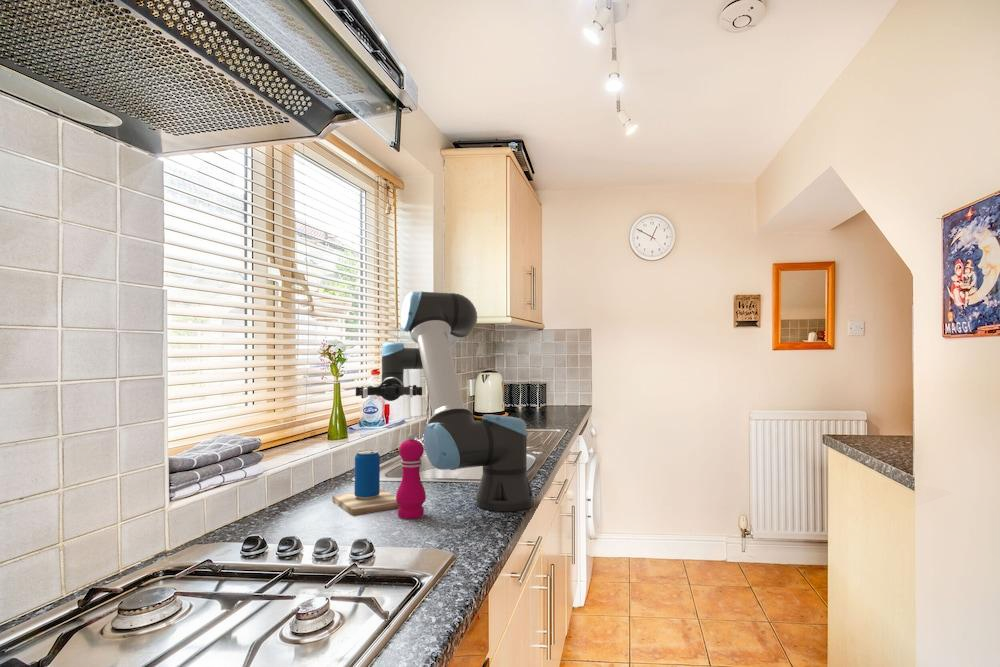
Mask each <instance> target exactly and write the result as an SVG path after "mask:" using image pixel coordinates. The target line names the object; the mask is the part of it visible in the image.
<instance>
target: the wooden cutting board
mask: <svg viewBox="0 0 1000 667" xmlns="http://www.w3.org/2000/svg"><path fill="white" fill-rule="evenodd" d="M333 501H334V502H335V504H336V505H337V504H338V505H337V506H338V507H340V508H341V507H342V508H341V509H343V510H344V511H346V513H348V514H350V515H351V516H356V515H357V516H358V515H361V514H362V515H363V514H368V513H375V512H382V511H387V510H394V509H398V508H399V507H400V505H399V504H398V503H397V501H396V494H393V493H391V492H390V491H387V490H386V489H384V488H380V494H379V495H378V496H377V497H376V498H373V499H367V500H363V499H358V498H357V497H356V496H355V491H354V492H348V493H341V494H339V493H338V494H333V495H332V502H333ZM334 502H333V503H334Z"/></svg>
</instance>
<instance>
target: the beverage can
mask: <svg viewBox="0 0 1000 667" xmlns="http://www.w3.org/2000/svg"><path fill="white" fill-rule="evenodd" d="M380 457H381V456H380V454H379V451H378V450H377V449H376V450H375V449H363V450H358V451H357V452H356V454H355V456H354V492H355V496H356V497H357V498H358V499H363V500H367V499H373V498H376V497H377V496H378V495H379V494H380V489H381V488H380V485H381V484H380V480H381V475H380V474H381V472H380V471H381V469H380V468H381V467H380V466H381V465H380V464H381V458H380Z"/></svg>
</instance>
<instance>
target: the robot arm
mask: <svg viewBox="0 0 1000 667" xmlns="http://www.w3.org/2000/svg"><path fill="white" fill-rule="evenodd" d="M477 323H478V312H477V309H476V307H475V305H474V303H473V302H472V301H471V300H470V299H469V298H468V297H466V296H465V295H462V294H460V293H455V292H453V293H452V292H450V293H449V292H435V291H434V292H432V291H422V290H420V291H410V292H408V293H406V295H405V297H404V300H403V303H402V307H401V312H400V327H401V330H402V331H403V332H407V333H408V332H410V337H411V340H412V341H413V342H414V343H416V344H417V345H418V347H417V348H416V347H405V346H404V343H403V342H384V343H383V344H382V348H381V383H380V384H377V385H376V386H373V385H368V386H361V387H358V386H357V387H355V396H356V397H359V396H361V399H366V398H367V397H368V396H376V397H381V398H382V399H383V400H385V401H388V402H393V401H396V400H397V399H399V398H400V397H402V396H405V395H406V396H409V398H413V396H414V397H416V396H423V387H422V386H417V384H413V385H408V386H405V383H404V372H405V371H404V370H423V374H424V378H425V384H426V390H427V392H428V394H427V395H428V398H429V402H430V410H431V412H432V413H431V414H432V415H431V417H430V418H429V419H428V420H427V422H428V424H427V425H426V426H425V427H424V431H423V440H424V442H423V448H424V451H425V453H426V457H427V459H428V461H429V463H430V465H432V466H433V467H434V468H435V469H436V470H442V471H443V470H446V471H447V470H449V471H454V470H459V469H460V470H461V469H467V468H479V467H482V474H481V477H480V478H481V479H480V481H479V484H478V489H477V492H476V496H475V505H476V506H477V507H479V508H480V509H484V510H487V511H491V512H492V511H493V512H494V511H495V512H514V511H515V512H517V511H523V510H526V509H529V508H531V507H533V505H534V493H533V491H532V487H531V484H530V481H529V478H528V474H527V473H528V472H527V471H528V470H527V463H528V462H527V455H528V454H527V453H528V450H527V442H528V441H527V438H528V433H527V432H528V431H527V424H526V421H525V420H524V419H523V418H519V417H514V416H509V415H499V414H491V413H490V414H487V413H484V414H483V415H482V418H481V419H482V420H475V419H474V416H473V412H472V410H470V409H469V408H466V407H465V403H464V400H463V395H462V391H461V388H460V382H459V378H458V375H457V371H456V367H455V363H454V362H455V361H454V359H453V358H454V357H453V354H452V348H453V347H454V346H455V345H456V344H457V343H458V341H459V340H461V338H466V337H467V336H469V335H470V334H471V333H472V332H473V330H474V329H475V327H476V326H477Z"/></svg>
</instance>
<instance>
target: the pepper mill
mask: <svg viewBox="0 0 1000 667" xmlns="http://www.w3.org/2000/svg"><path fill="white" fill-rule="evenodd" d="M424 451H425V449H424V444H422V442H420V441H419V440H417V439H416V436H415V434H414V433H408V435H407V440H404V441H403V442H401V443H400V445H399V447H398V454H399V456H400V457H401V460H400V466H401V467H402V477H401V481H400V484H399V486H398V488H397V491H396V494H395V496H396V501H397V503H398V504H399V505H400V507H399V508H397V517H398V518H400V519H403V518H404V520H412V519H414V518H416V519H420V518H422V517H423V516H424V515H425V513H424V512H425V510H424V509H425V507H423V504H424V503H425V502H426V500H427V496H426V494H427V493H426V490H425V488H424V485H423V482H422V480H421V477H420V476H421V474H420V467H421V466H422V459H421V458H422V456H423V454H424ZM419 517H420V518H419Z"/></svg>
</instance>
